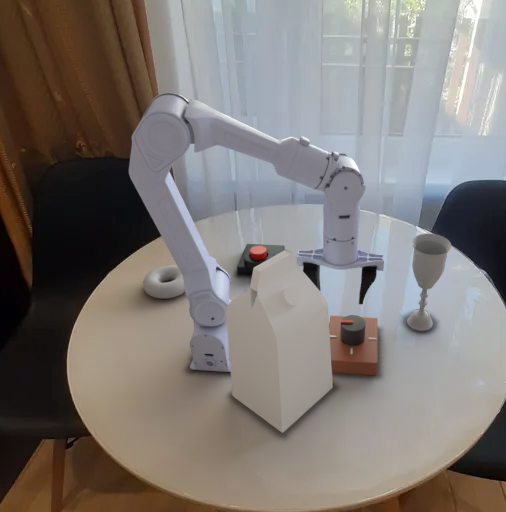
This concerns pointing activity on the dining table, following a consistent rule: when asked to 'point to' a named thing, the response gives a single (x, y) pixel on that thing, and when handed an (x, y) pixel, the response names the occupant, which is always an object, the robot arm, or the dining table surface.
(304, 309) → the milk
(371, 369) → the timer panel
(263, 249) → the button
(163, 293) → the donut
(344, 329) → the timer knob
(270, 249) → the control box
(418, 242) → the chalice
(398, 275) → the dining table surface
